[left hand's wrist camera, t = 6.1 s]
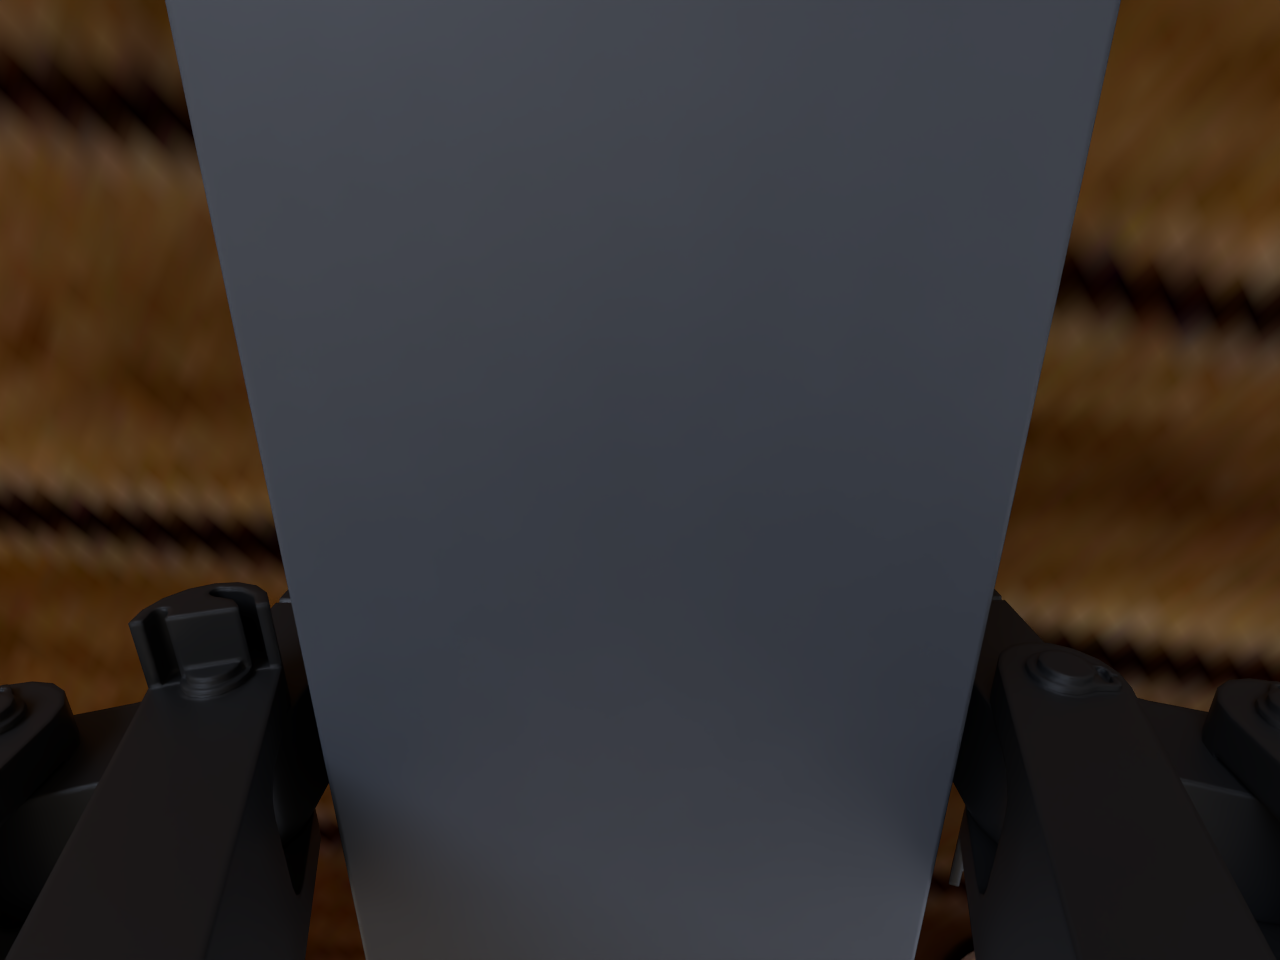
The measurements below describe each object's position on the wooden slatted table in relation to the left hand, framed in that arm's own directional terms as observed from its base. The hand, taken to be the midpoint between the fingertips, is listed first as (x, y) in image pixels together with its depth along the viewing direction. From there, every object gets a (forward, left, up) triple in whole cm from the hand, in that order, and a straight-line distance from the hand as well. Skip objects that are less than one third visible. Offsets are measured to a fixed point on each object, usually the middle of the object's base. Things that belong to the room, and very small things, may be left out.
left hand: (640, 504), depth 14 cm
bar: (-2, +22, -1) cm, 23 cm away
